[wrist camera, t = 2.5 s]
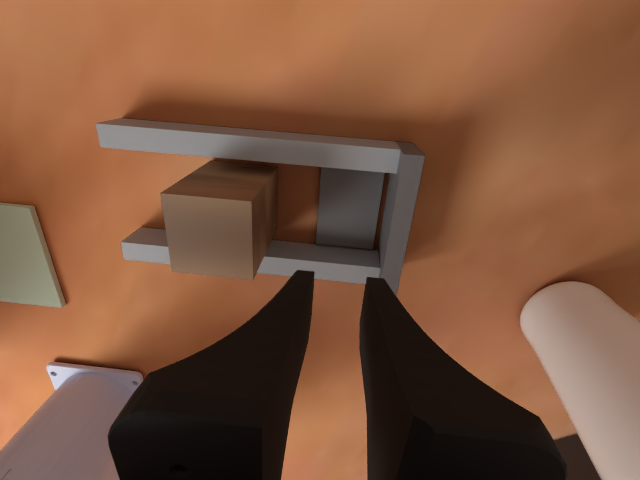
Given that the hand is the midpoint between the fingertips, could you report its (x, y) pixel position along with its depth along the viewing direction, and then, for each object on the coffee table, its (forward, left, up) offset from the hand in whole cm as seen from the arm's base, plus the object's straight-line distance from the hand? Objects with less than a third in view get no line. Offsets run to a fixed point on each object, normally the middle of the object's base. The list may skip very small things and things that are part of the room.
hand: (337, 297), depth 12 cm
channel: (0, +5, -9) cm, 11 cm away
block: (0, +6, -10) cm, 11 cm away
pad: (-6, +24, -9) cm, 26 cm away
